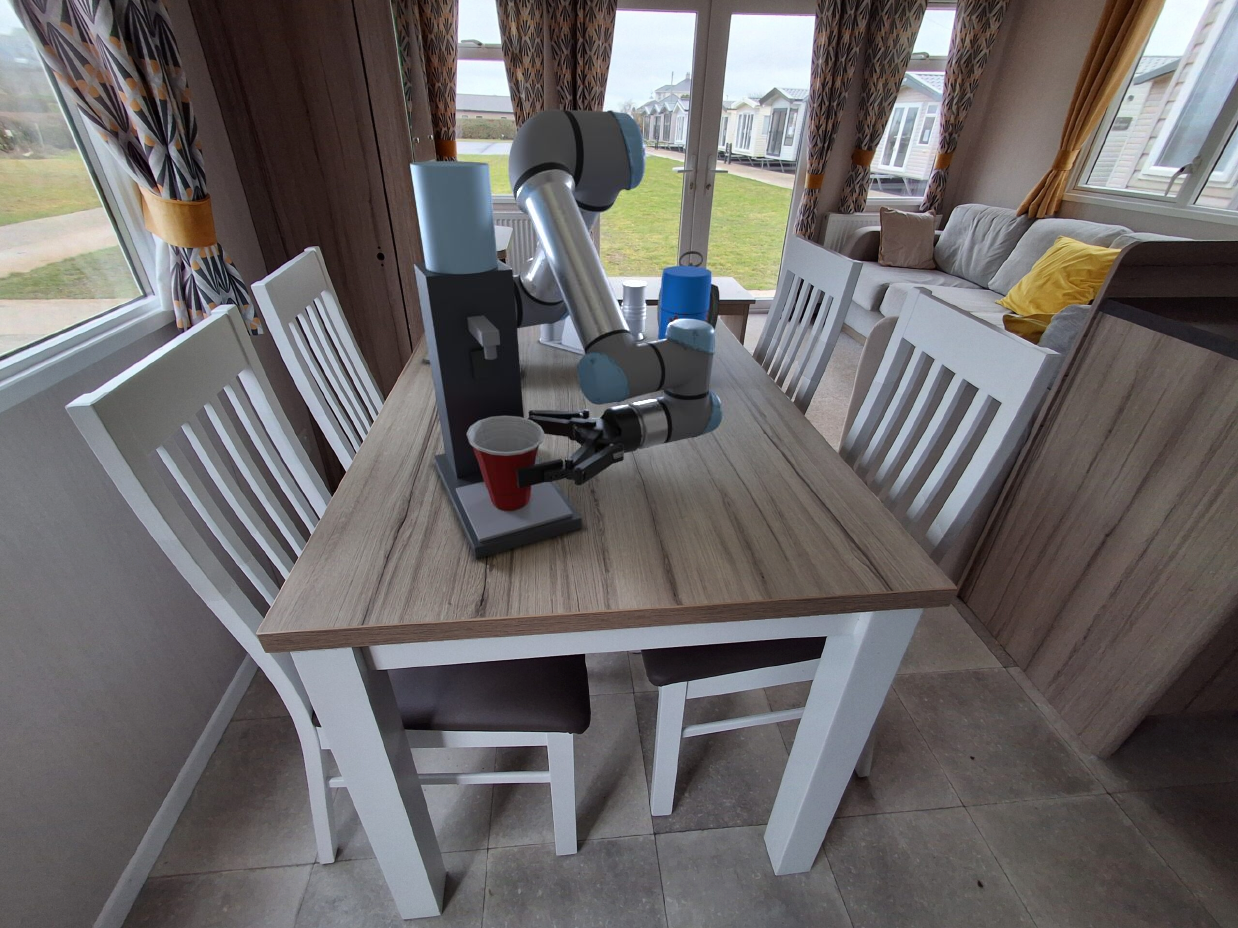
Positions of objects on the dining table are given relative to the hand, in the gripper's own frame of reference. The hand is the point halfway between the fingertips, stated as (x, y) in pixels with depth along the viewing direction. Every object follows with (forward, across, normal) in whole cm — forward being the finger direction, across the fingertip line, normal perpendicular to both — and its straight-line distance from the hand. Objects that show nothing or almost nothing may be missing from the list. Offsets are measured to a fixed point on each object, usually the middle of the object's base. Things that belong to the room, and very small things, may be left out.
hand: (502, 455), depth 81 cm
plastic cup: (-1, 0, -8) cm, 8 cm away
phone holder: (-39, +69, -11) cm, 80 cm away
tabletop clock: (-66, +54, -11) cm, 86 cm away
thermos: (-53, +35, -11) cm, 64 cm away
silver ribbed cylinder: (-57, +67, -11) cm, 88 cm away
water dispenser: (-1, +6, -11) cm, 12 cm away
